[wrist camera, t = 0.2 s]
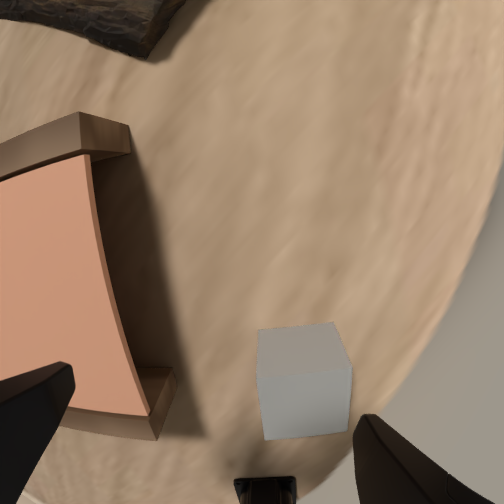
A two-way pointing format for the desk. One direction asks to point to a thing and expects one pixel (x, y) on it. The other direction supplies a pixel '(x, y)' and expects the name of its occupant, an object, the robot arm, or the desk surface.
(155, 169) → the desk surface
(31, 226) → the trapdoor
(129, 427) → the frame
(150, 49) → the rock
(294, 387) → the gray cube
